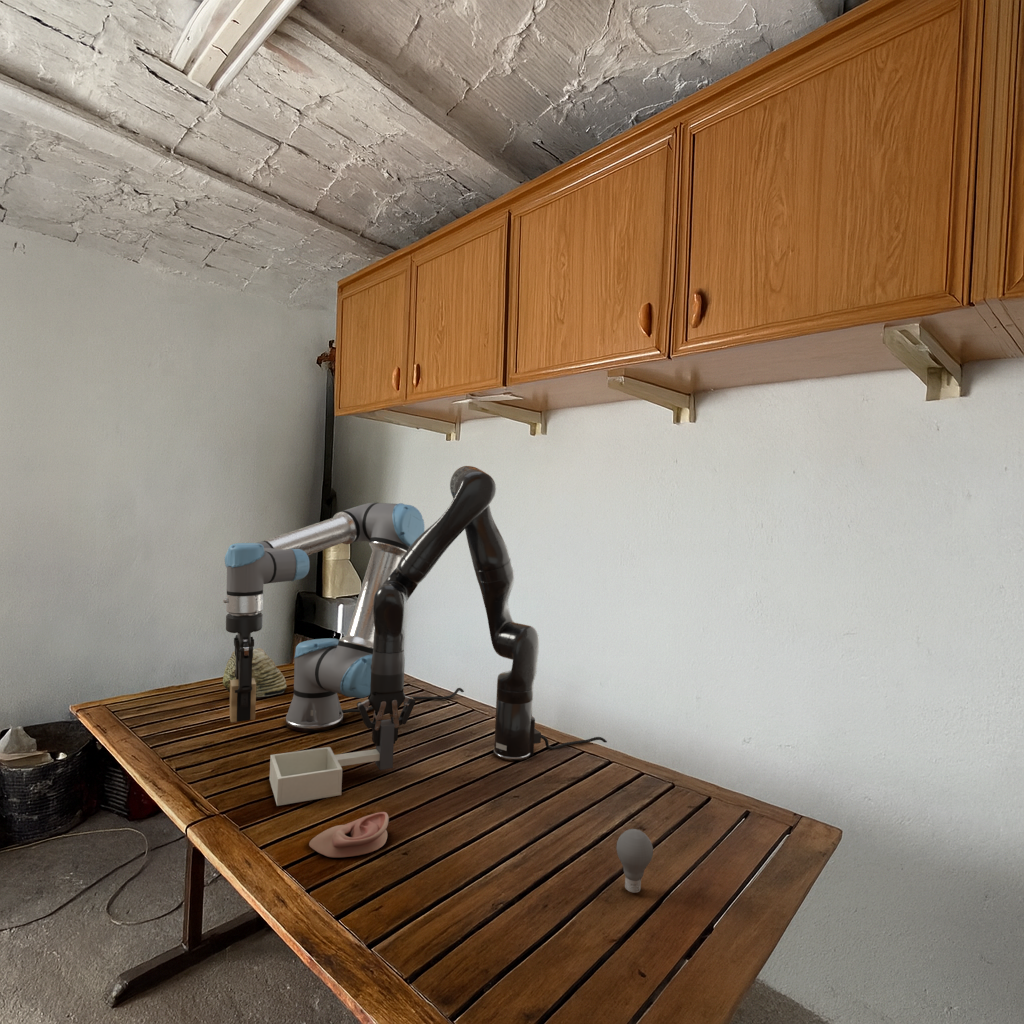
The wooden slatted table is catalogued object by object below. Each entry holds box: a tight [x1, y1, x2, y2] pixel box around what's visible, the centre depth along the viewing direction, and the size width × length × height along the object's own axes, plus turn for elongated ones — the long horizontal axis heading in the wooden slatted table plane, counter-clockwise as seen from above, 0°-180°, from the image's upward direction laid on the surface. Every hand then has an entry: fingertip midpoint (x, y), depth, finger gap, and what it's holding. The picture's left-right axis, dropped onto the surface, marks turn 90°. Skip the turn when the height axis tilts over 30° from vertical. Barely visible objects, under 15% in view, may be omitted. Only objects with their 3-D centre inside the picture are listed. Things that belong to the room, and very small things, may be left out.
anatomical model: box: [308, 811, 390, 859], centre depth 117 cm, size 13×4×12 cm
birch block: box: [228, 678, 257, 723], centre depth 142 cm, size 5×5×8 cm
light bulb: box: [615, 828, 654, 894], centre depth 106 cm, size 6×6×10 cm
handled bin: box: [269, 718, 395, 807], centre depth 141 cm, size 26×13×12 cm, turn 117°
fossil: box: [222, 647, 288, 698], centre depth 198 cm, size 9×18×15 cm, turn 132°
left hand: (242, 715), depth 142 cm, fingers closed on birch block, 5 cm apart
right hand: (384, 743), depth 146 cm, fingers closed on handled bin, 3 cm apart
